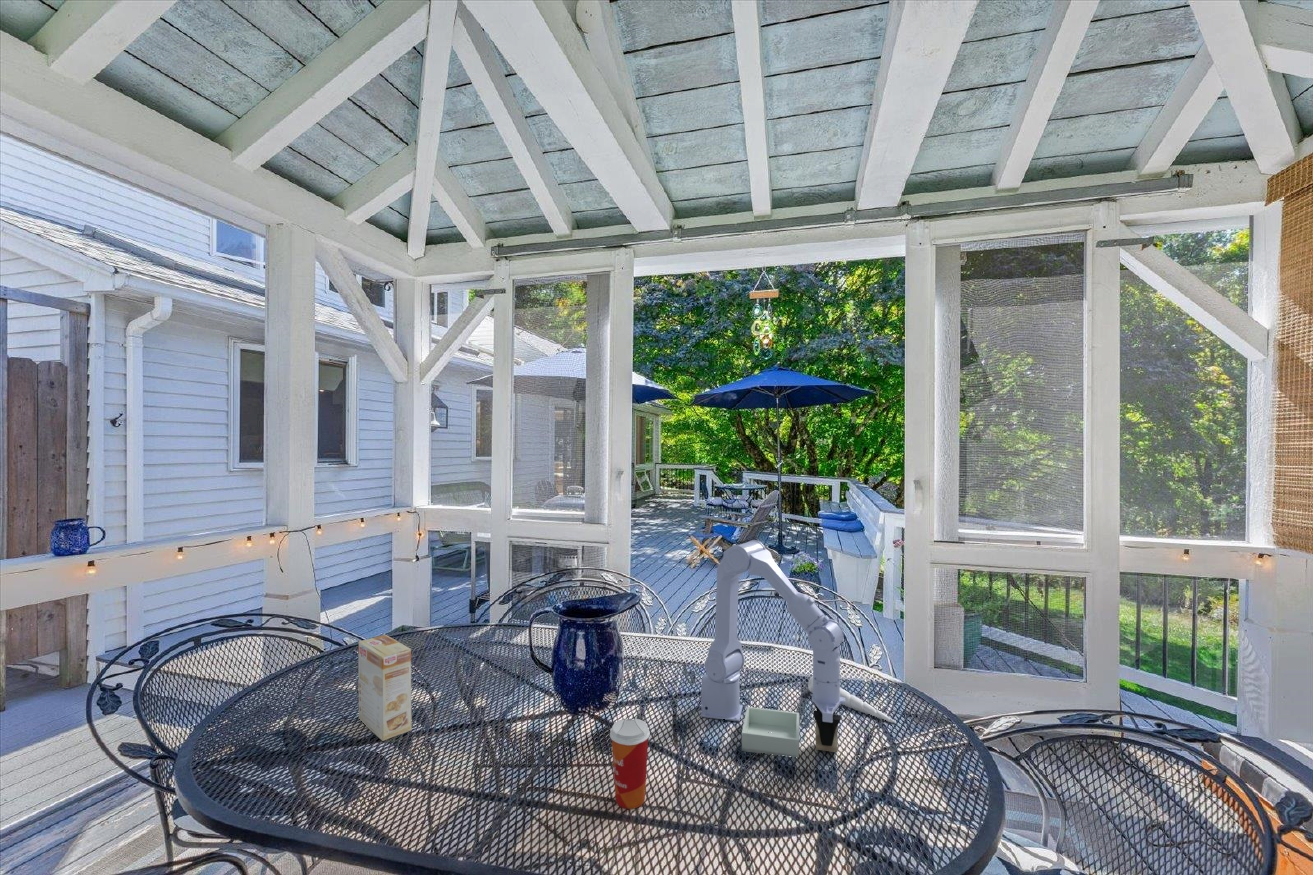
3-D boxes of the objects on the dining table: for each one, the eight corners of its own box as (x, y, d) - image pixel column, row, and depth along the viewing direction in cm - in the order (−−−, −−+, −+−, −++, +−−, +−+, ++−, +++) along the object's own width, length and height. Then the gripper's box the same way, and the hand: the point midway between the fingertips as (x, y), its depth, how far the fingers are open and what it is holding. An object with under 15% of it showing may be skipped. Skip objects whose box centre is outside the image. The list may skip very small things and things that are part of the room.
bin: (741, 750, 124) (741, 732, 124) (747, 723, 136) (747, 706, 136) (798, 758, 121) (798, 740, 121) (799, 729, 133) (799, 712, 133)
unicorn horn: (887, 730, 133) (887, 710, 133) (806, 693, 152) (806, 676, 152) (898, 724, 136) (898, 704, 136) (817, 688, 155) (817, 671, 155)
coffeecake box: (412, 730, 134) (412, 648, 134) (381, 742, 129) (381, 657, 128) (387, 709, 144) (386, 633, 144) (357, 720, 139) (356, 641, 139)
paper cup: (610, 788, 111) (609, 717, 111) (648, 785, 112) (648, 715, 112) (610, 814, 104) (609, 739, 103) (651, 812, 104) (651, 736, 104)
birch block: (815, 749, 123) (815, 722, 123) (815, 738, 127) (815, 712, 127) (837, 752, 122) (837, 724, 122) (836, 741, 126) (836, 714, 126)
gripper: (847, 694, 116) (847, 759, 116) (843, 666, 130) (843, 724, 131) (812, 690, 118) (812, 754, 118) (811, 663, 132) (811, 720, 132)
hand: (826, 738), depth 125 cm, fingers closed on birch block, 4 cm apart
